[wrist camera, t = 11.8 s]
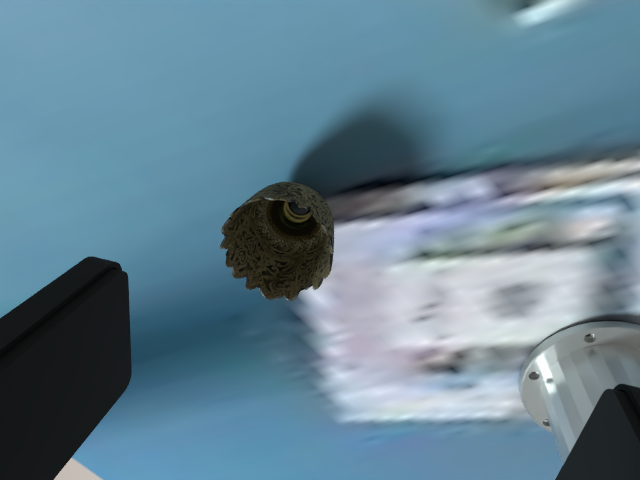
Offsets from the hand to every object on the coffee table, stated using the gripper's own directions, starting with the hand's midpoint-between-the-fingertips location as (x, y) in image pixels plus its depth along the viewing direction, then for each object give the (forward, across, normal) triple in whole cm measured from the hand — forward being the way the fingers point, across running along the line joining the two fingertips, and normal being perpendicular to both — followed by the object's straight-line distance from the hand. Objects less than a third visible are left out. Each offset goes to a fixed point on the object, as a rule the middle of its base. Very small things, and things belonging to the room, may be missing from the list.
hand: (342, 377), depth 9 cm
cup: (+27, +6, +8) cm, 29 cm away
